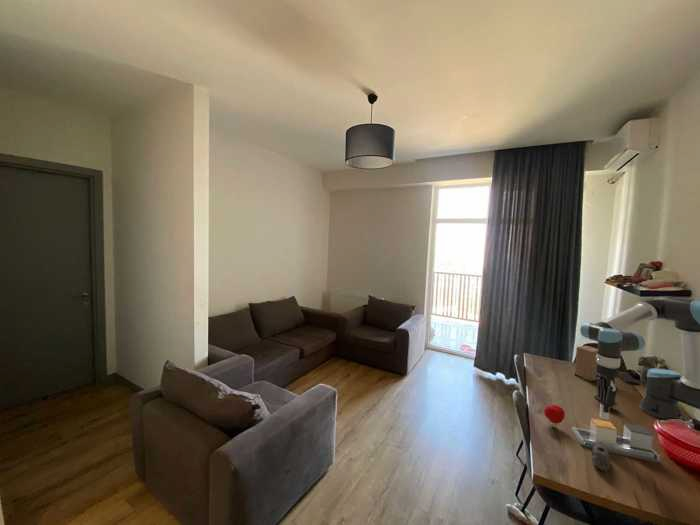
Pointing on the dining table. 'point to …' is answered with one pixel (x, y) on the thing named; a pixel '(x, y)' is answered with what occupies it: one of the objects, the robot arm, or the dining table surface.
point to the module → (603, 431)
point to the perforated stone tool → (601, 456)
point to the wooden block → (586, 362)
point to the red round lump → (554, 414)
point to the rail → (624, 442)
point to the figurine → (599, 400)
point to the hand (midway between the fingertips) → (603, 417)
